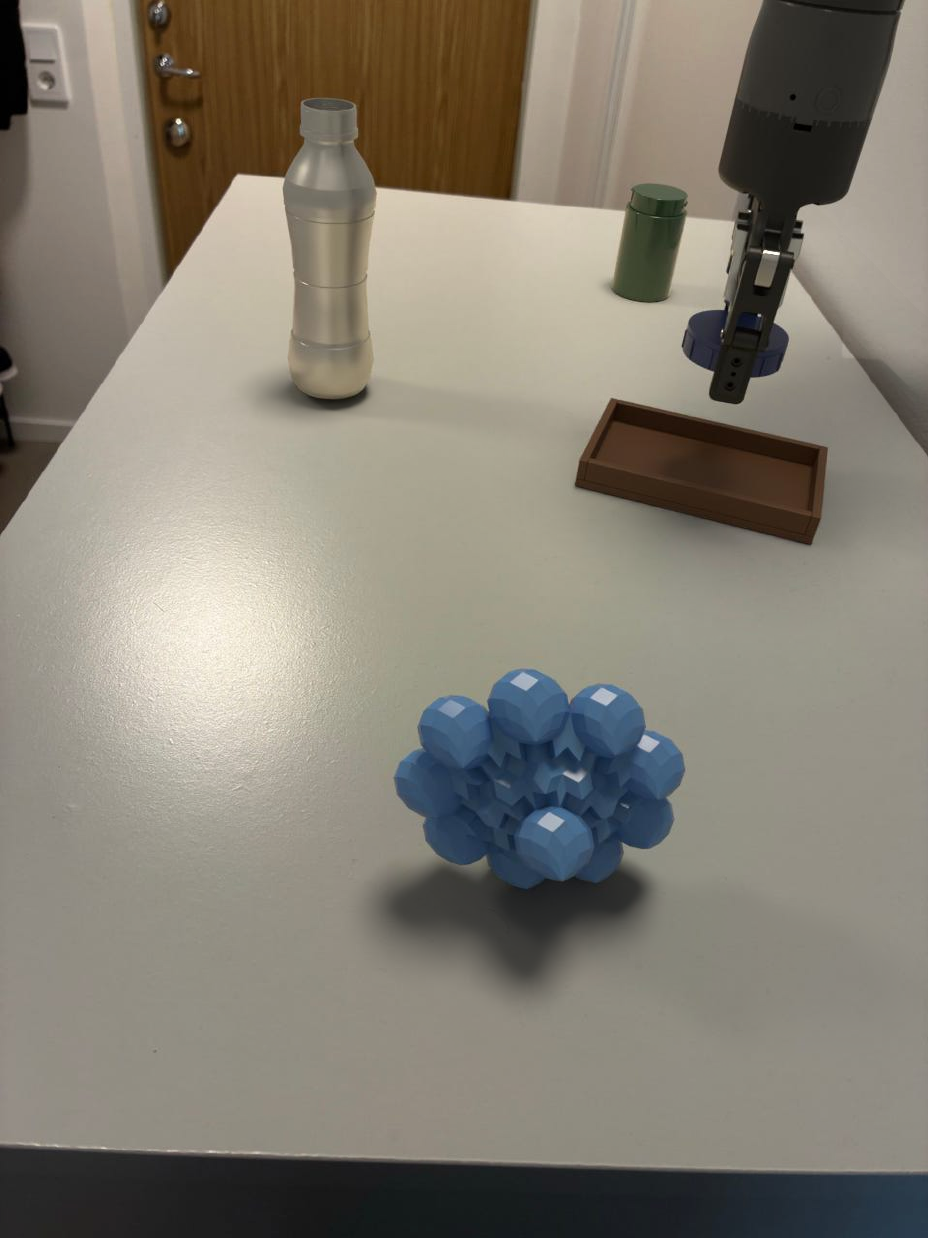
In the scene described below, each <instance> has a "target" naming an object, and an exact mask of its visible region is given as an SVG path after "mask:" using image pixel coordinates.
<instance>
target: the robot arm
mask: <svg viewBox="0 0 928 1238" xmlns="http://www.w3.org/2000/svg"><path fill="white" fill-rule="evenodd" d="M905 2H906V0H762V3H761V6H760V9H759V12H758V14H757V17H756V20H755V22H754V25H753V28H752V31H751V34H750V36H749V40H748V43H747V47H746V50H745V55H744V59H743V63H742V67H741V71H740V75H739V80H738V84H737V88H736V92H735V96H734V100H733V105H732V109H731V113H730V117H729V122H728V124H727V125H728V126H727V130H726V134H725V138H724V142H723V147H722V151H721V155H720V159H719V164H718V169H717V172H718V177H719V178H720V181H722V182H723V184H724V185H726V186H727V187H729V188H730V189H731V190H734V191H736V192H739V193H740V194H742V195H745V194H748V195H747V199H748V203H747V207H746V210H737V212H736V216H735V219H734V224H733V228H732V229H733V230H732V234H731V243H730V248H729V252H730V253H729V255H728V259H727V264H726V269H725V272H726V274H727V279H726V283H725V287H724V291H723V295H722V300H723V303H724V304H725V305H724V309H723V310H728V314H727V318H726V323H725V327H724V329H722V330H721V334H720V337H721V348H720V351H719V355H718V359H717V362H716V366H715V370H714V372H712V373H713V374H712V378H711V381H710V385H709V390H708V397H709V398H710V400H712V401H714V402H719V403H724V404H730V405H740V404H741V403H743V402H744V401H745V397H746V394H747V390H748V388H749V384H750V381H751V378H750V377H751V374H752V370H753V367H754V364H755V360H756V357H757V354H758V352H761V353H764V351H765V348H766V347H768V345H769V342H770V339H769V336H770V333H771V329H772V326H773V323H775V320H776V316H777V313H778V310H779V309H780V308H781V307H782V305H783V303H784V299H785V296H786V292H787V288H788V283H789V280H790V276H791V272H792V270H793V269H794V266H795V262H796V261H798V258H799V257H800V255H801V250H802V246H803V243H804V238H805V233H804V232H802V229H803V224H804V220H801V219H797V217H798V214H799V212H800V209H801V208H804V207H807V206H809V205H815V206H818V207H819V206H828V205H831V204H834V203H838V202H839V201H841V200H843V198H845V197H846V196H847V195H848V193H849V192H850V191H849V190H850V188H851V185H852V182H853V179H854V175H855V173H856V169H857V166H858V163H859V160H860V157H861V154H862V151H863V148H864V145H865V142H866V139H867V137H868V133H869V130H870V126H871V123H872V121H873V118H874V114H875V111H876V108H877V105H878V102H879V99H880V96H881V93H882V90H883V88H884V87H883V86H884V84H885V80H886V77H887V74H888V71H889V68H890V64H891V60H892V56H893V51H894V47H895V41H896V36H897V31H898V27H899V22H900V19H901V15H902V10H903V9H904V6H905ZM743 312H744V313H749V314H753V315H756V316H759V315H760V316H759V317H760V321H759V325H758V329H754V328H748V327H743V326H737V322H738V319H739V316H740V314H741V313H743Z"/></svg>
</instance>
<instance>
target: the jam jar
mask: <svg viewBox="0 0 928 1238" xmlns="http://www.w3.org/2000/svg"><path fill="white" fill-rule="evenodd" d="M630 191H631V195H630V200H629V201H627V203H626V204H625V210H624V215H623V221H622V227H621V232H620V238H619V243H618V249H617V253H616V254H617V255H616V260H615V265H614V266H615V267H614V271H613V276H612V281H611V289H612V291H613V292H614V293H615V294H616V295H618V296H619V297H623V298H625V299H628V300H631V301H636V302H644V303H653V302H654V303H655V302H656V301H657V302H662V301H665V300H667V298H669V296H670V293H671V289H672V284H673V280H674V275H675V271H676V270H675V269H676V266H677V261H678V258H679V257H678V256H679V253H680V247H681V243H682V239H683V233H684V230H685V226H686V220H687V217H688V216H687V215H688V211H687V209H686V207H687V205H688V203H689V202H688V197H689V196H688V193H687V192H686V191H685V190H684V189H683V190H682V189H681V188H678V187H675V186H672V185H668V184H664V183H663V184H662V183H649V182H647V183H639V184H636V185H633V186H632V187H631V189H630Z"/></svg>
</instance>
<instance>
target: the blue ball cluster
mask: <svg viewBox="0 0 928 1238" xmlns="http://www.w3.org/2000/svg"><path fill="white" fill-rule="evenodd" d="M486 703H487V707H488V708H487V707H485V705H483V704H481V703H479V702H477V701H475V700H474V699H471V698H470V697H468V696H464V695H456V694H455V695H454V694H450V695H446V696H441V697H438V698H436V699H435V700H434V701H433V702H432V703H431V704H429V705H428V706H427V707H426V708H425V709H424V710H423V711H422V713H421V716H420V718H419V721H418V724H417V727H416V728H417V734H418V737H419V744H420V746H421V748H418V749H414V750H413V751H411V752H410V753H408V755H406V756H405V757H404V758H403V759H401V760H400V761H399V762H398V764H397V765H398V766H397V768H396V770H395V772H394V775H393V782H394V786H395V792H396V795H397V796H398V798H399V799H400V800H401V801H402V803H403V804H404V805H405V806H406V808H407V809H408V810H410V811H412V812H414V813H416V814H417V815H418V816H421V817H422V818H424V821H423V822H422V828H423V835H424V839H425V842H426V844H427V845H428V846H429V847H430V848H431V850H432V851H433V852H434V853H435V854H436V855H437V856H438V857H440V858H442V859H444V860H446V861H447V862H449V863H452V864H455V865H458V866H468V865H472V864H474V863H477V862H478V861H481V860H482V859H483V858H484V857H486V862H487V866H488V867H489V868H490V869H491V871H492V872H493V873H494V874H495V876H496V877H497V878H498V879H500V880H502V881H503V882H505V883H507V884H509V885H510V886H513V887H515V888H519V889H523V890H528V889H532V888H533V887H536V886H537V885H540V884H541V883H542V882H544V881H545V880H546V879H548V880H552V881H556V882H564V881H568V880H570V879H571V878H573V877H575V878H577V879H579V880H582V881H586V882H589V883H600V882H602V881H604V880H606V879H607V878H609V877H610V876H611V875H612V874H613V873H614V872H616V870H617V869H618V868H619V867H620V865H621V862H622V859H623V857H624V854H625V851H624V846H623V844H624V845H626V846H628V847H631V848H635V849H639V850H649V849H652V848H654V847H656V846H658V845H660V844H661V843H662V842H663V841H664V840H665V839H666V838H667V837H668V836H669V835H670V833H671V830H672V827H673V824H674V822H675V816H674V815H675V814H674V810H673V804H672V802H671V801H670V800H669V798H668V797H670V796H671V795H672V794H673V793H674V792H675V791H676V790H677V789H678V788H679V787H680V786H681V783H682V780H683V778H684V776H685V773H686V766H685V760H684V755H683V753H682V751H681V750H680V749H679V747H678V746H677V745H676V744H675V743H674V741H673V740H672V739H671V738H668V737H666V736H664V735H662V734H660V733H658V732H657V731H655V730H647V729H646V728H647V725H646V719H645V712H644V709H643V707H642V706H641V705H640V704H639V702H638V701H637V699H635V697H634V696H633V695H632V694H631V693H629V692H628V691H626V690H624V689H622V688H621V687H618V686H616V685H614V684H612V683H611V684H608V683H595V684H592V685H588V686H586V687H584V688H583V689H581V690H580V691H579V692H578V693H576V695H575V696H573V697H572V698H571V699H570V702H569V697H568V694H567V693H566V691H565V690H564V689H563V687H561V685H560V684H559V682H557V680H556V679H554V678H552V677H550V676H548V675H547V674H545V673H543V672H541V671H539V670H537V669H534V668H518V669H517V668H516V669H513V670H509V671H508V672H507V673H506V674H504V675H503V676H502V677H501V678H499V679H498V680H497V681H496V682H495V683H494V684H492V687H491V690H490V692H489V694H488V698H487V700H486Z"/></svg>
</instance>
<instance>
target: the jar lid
mask: <svg viewBox="0 0 928 1238" xmlns="http://www.w3.org/2000/svg"><path fill="white" fill-rule="evenodd" d="M727 314H728V310H724V309H710V310H709V309H708V310H702V311H699V312H696V313H694V314H692V315H691V316H690V318H689V319H688V322H687V326H686V329H685V330H684V334H683V339H682V343H681V346H680V347H681V348H682V352H683V355H684V356H685V357H686V358H687V359H688V360H689V361H691V362H692V363H693V364H695V365H697V366H698V367H701V368H702V369H704V370H706V371H709V372H712V373H714V370H715V366H716V362H717V359H718V355H719V351H720V348H721V337H720V334H721V330H722V329H724V327H725V323H726V318H727ZM760 317H761V316H759V315H758V316H756V315H753V314H749V313H744V312H743V313H741V314H740V316H739V319H738V322H737V326H743V327H748V328H754V329H758V325H759V321H760ZM769 339H770V342H769V345H768V347H766V348H765V351H764V353H761V352H758V354H757V357H756V360H755V364H754V367H753V370H752V374H751V377H750V379H757V378H765V377H769V376H771V375H774V374H776V373H778V372H779V371H780V369H781V367H782V364H783V362H784V358H785V355H786V353H787V349H788V346H789V342H790V336H789V334H788V332H787V331H786V330H785V329H784V328H783V327H781V326H780V324H777V323H775V322H774V323H773V326H772V329H771V333H770V336H769Z"/></svg>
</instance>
